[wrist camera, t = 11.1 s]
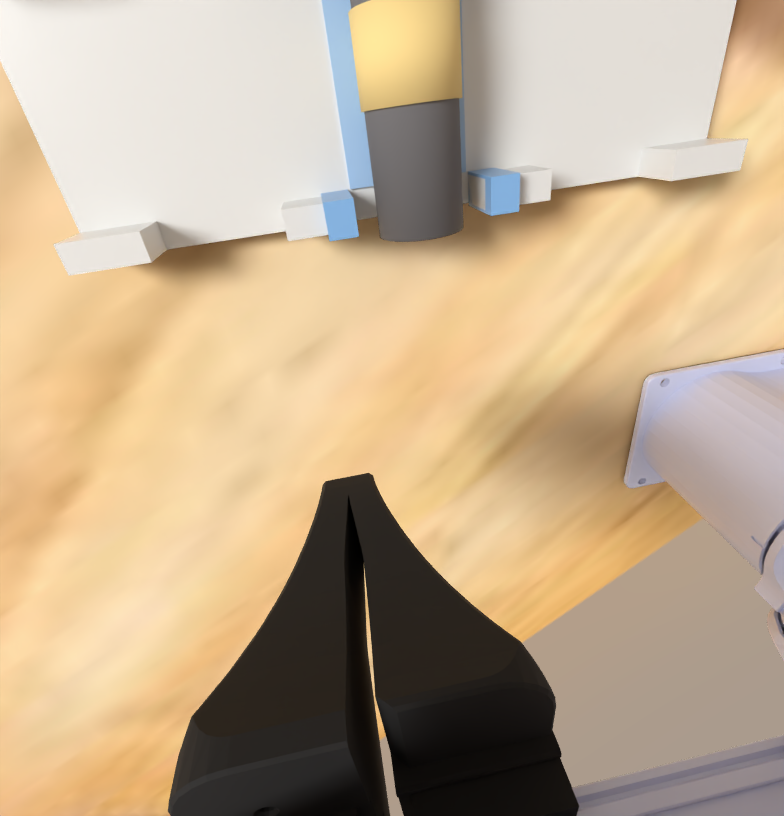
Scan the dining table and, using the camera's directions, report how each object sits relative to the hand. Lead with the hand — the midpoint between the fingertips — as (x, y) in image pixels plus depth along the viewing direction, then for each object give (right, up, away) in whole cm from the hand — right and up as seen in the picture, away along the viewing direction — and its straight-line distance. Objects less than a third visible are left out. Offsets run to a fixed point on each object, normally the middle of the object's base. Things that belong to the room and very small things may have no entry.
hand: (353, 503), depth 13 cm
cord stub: (+1, +14, +2) cm, 14 cm away
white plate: (+1, +15, +3) cm, 15 cm away
